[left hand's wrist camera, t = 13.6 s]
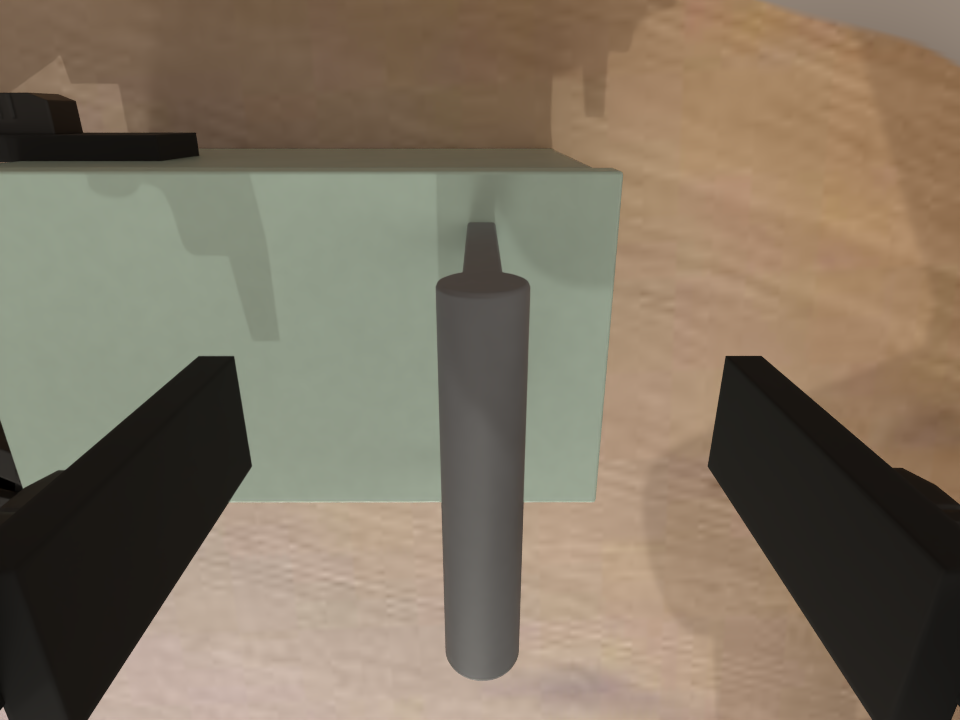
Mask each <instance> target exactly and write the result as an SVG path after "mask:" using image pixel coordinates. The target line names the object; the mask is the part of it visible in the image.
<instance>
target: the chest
mask: <svg viewBox="0 0 960 720" xmlns="http://www.w3.org/2000/svg"><path fill="white" fill-rule="evenodd" d="M198 150H199V156H193V157H186V158H179V159H172V160H165V161H18V162H8V163H0V168H592V167H589V166H587V165H585V164H583V163H581V162H579V161H576V160H574V159H572V158H570V157H568V156H566V155H563V154H561V153H559V152H557V151H555V150H554V149H198Z"/></svg>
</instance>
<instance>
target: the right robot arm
mask: <svg viewBox="0 0 960 720" xmlns="http://www.w3.org/2000/svg"><path fill="white" fill-rule="evenodd" d="M193 156H199V150H198V144H197V138H196V133H83V131H82V126H81V122H80V118H79V113H78V109H77V105H76V101H74V100H71V99H69V98H66V97H64V96H61V95H59V94H42V93H0V162H18V161H165V160H172V159H179V158H186V157H193ZM22 489H23V487H22V484H21V481H20V478H19V475H18V472H17V469H16V466H15V463H14V460H13V457H12V454H11V451H10V448H9V445H8V442H7V439H6V436H5V433H4V430H3V427H2V424H1V421H0V507H1V506H3V505H4V504H5V503H6V502H8V501H9V500H10V499H11V498H12V497H14V496H15V495H16V494H17V493H19V492H20V491H21V490H22Z"/></svg>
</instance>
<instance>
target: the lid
mask: <svg viewBox="0 0 960 720" xmlns="http://www.w3.org/2000/svg"><path fill="white" fill-rule="evenodd" d="M622 181H623V173H622V172H621V171H618V170H616V169H613V168H0V421H1V424H2V427H3V430H4V433H5V436H6V439H7V442H8V445H9V448H10V451H11V454H12V457H13V460H14V463H15V466H16V469H17V472H18V475H19V478H20V481H21V484H22V487H23V488H25V487H27V486H29V485H30V484H32V483H34V482H36V481H38V480H40V479H42V478H44V477H46V476H48V475H50V474H52V473H54V472H56V471H57V470H66V469H67V468H68V467H69V466H70V465H72V464H73V463H74V462H75V461H76V460H77V459H79V458H80V457H81V456H82V455H83V454H84V453H86V452H87V451H88V450H89V449H90V448H92V447H93V446H94V445H95V444H96V443H97V442H99V441H100V440H101V439H102V438H103V437H104V436H106V435H107V434H108V433H109V432H110V431H111V430H113V429H114V428H115V427H116V426H117V425H118V424H120V423H121V422H122V421H123V420H124V419H125V418H127V417H128V416H129V415H130V414H131V413H132V412H134V411H135V410H136V409H137V408H138V407H140V406H141V405H142V404H143V403H144V402H145V401H147V400H148V399H149V398H150V397H151V396H152V395H154V394H155V393H156V392H157V391H158V390H159V389H161V388H162V387H163V386H164V385H165V384H166V383H168V382H169V381H170V380H171V379H172V378H173V377H175V376H176V375H177V374H178V373H179V372H180V371H182V370H183V369H184V368H185V367H186V366H188V365H189V364H190V363H191V362H192V361H193V360H195V359H196V358H197V357H198V356H234V358H235V364H236V370H237V376H238V382H239V389H240V395H241V401H242V407H243V413H244V419H245V425H246V431H247V438H248V444H249V450H250V456H251V462H252V467H251V469H250V471H249V472H248V474H247V475H246V477H245V478H244V480H243V481H242V483H241V484H240V486H239V487H238V489H237V491H236V492H235V494H234V495H233V497H232V498H231V500H230V501H229V502H442V537H443V573H444V609H445V645H446V656H447V659H448V661H449V663H450V664H451V666H452V667H453V669H454V670H455V671H456V672H458V673H459V674H460V675H462V676H464V677H466V678H469V679H472V680H477V681H487V680H493V679H496V678H499V677H501V676H503V675H504V674H506V673H507V672H508V671H509V670H510V669H511V668H512V667H513V665H514V664H515V662H516V660H517V657H518V653H519V627H520V596H521V565H522V535H523V504H524V502H594V501H595V499H596V487H597V475H598V464H599V452H600V440H601V428H602V417H603V405H604V393H605V381H606V370H607V358H608V346H609V334H610V323H611V311H612V299H613V287H614V275H615V264H616V252H617V240H618V228H619V217H620V205H621V193H622Z"/></svg>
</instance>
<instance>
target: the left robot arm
mask: <svg viewBox="0 0 960 720" xmlns="http://www.w3.org/2000/svg"><path fill="white" fill-rule="evenodd" d="M251 467H252V462H251V456H250V450H249V444H248V438H247V431H246V425H245V419H244V413H243V407H242V401H241V395H240V389H239V382H238V376H237V370H236V364H235V358H234V356H198V357H197V358H196V359H195V360H193V361H192V362H191V363H190V364H189V365H188V366H186V367H185V368H184V369H183V370H182V371H180V372H179V373H178V374H177V375H176V376H175V377H173V378H172V379H171V380H170V381H169V382H168V383H166V384H165V385H164V386H163V387H162V388H161V389H159V390H158V391H157V392H156V393H155V394H154V395H152V396H151V397H150V398H149V399H148V400H147V401H145V402H144V403H143V404H142V405H141V406H140V407H138V408H137V409H136V410H135V411H134V412H132V413H131V414H130V415H129V416H128V417H127V418H125V419H124V420H123V421H122V422H121V423H120V424H118V425H117V426H116V427H115V428H114V429H113V430H111V431H110V432H109V433H108V434H107V435H106V436H104V437H103V438H102V439H101V440H100V441H99V442H97V443H96V444H95V445H94V446H93V447H92V448H90V449H89V450H88V451H87V452H86V453H84V454H83V455H82V456H81V457H80V458H79V459H77V460H76V461H75V462H74V463H73V464H72V465H70V466H69V467H68V468H67V469H66V470H57V471H56V472H54V473H52V474H50V475H48V476H46V477H44V478H42V479H40V480H38V481H36V482H34V483H32V484H30V485H29V486H27V487H25V488H23V489H22V490H21V491H20V492H19V493H17V494H16V495H15V496H14V497H12V498H11V499H10V500H9V501H8V502H6V503H5V504H4V505H3V506H1V507H0V710H1V709H2V707H4V709H5V712H6V714H7V717H8V719H9V720H88V718H89V717H90V715H91V714H92V712H93V711H94V709H95V708H96V706H97V705H98V703H99V701H100V700H101V698H102V697H103V695H104V694H105V692H106V691H107V689H108V688H109V686H110V685H111V683H112V681H113V680H114V678H115V677H116V675H117V674H118V672H119V671H120V669H121V668H122V666H123V665H124V663H125V661H126V660H127V658H128V657H129V655H130V654H131V652H132V651H133V649H134V648H135V646H136V645H137V643H138V641H139V640H140V638H141V637H142V635H143V634H144V632H145V631H146V629H147V628H148V626H149V624H150V623H151V621H152V620H153V618H154V617H155V615H156V614H157V612H158V611H159V609H160V608H161V606H162V604H163V603H164V601H165V600H166V598H167V597H168V595H169V594H170V592H171V591H172V589H173V588H174V586H175V584H176V583H177V581H178V580H179V578H180V577H181V575H182V574H183V572H184V571H185V569H186V568H187V566H188V564H189V563H190V561H191V560H192V558H193V557H194V555H195V554H196V552H197V551H198V549H199V548H200V546H201V544H202V543H203V541H204V540H205V538H206V537H207V535H208V534H209V532H210V531H211V529H212V527H213V526H214V524H215V523H216V521H217V520H218V518H219V517H220V515H221V514H222V512H223V511H224V509H225V507H226V506H227V504H228V503H229V501H230V500H231V498H232V497H233V495H234V494H235V492H236V491H237V489H238V487H239V486H240V484H241V483H242V481H243V480H244V478H245V477H246V475H247V474H248V472H249V471H250V469H251ZM708 467H709V469H710V471H711V472H712V474H713V475H714V477H715V478H716V480H717V481H718V483H719V484H720V486H721V487H722V489H723V491H724V492H725V494H726V495H727V497H728V498H729V500H730V501H731V503H732V504H733V506H734V507H735V509H736V511H737V512H738V514H739V515H740V517H741V518H742V520H743V521H744V523H745V524H746V526H747V528H748V529H749V531H750V532H751V534H752V535H753V537H754V538H755V540H756V541H757V543H758V544H759V546H760V548H761V549H762V551H763V552H764V554H765V555H766V557H767V558H768V560H769V561H770V563H771V564H772V566H773V568H774V569H775V571H776V572H777V574H778V575H779V577H780V578H781V580H782V581H783V583H784V584H785V586H786V588H787V589H788V591H789V592H790V594H791V595H792V597H793V598H794V600H795V601H796V603H797V604H798V606H799V608H800V609H801V611H802V612H803V614H804V615H805V617H806V618H807V620H808V621H809V623H810V625H811V626H812V628H813V629H814V631H815V632H816V634H817V635H818V637H819V638H820V640H821V641H822V643H823V645H824V646H825V648H826V649H827V651H828V652H829V654H830V655H831V657H832V658H833V660H834V661H835V663H836V665H837V666H838V668H839V669H840V671H841V672H842V674H843V675H844V677H845V678H846V680H847V681H848V683H849V685H850V686H851V688H852V689H853V691H854V692H855V694H856V695H857V697H858V698H859V700H860V701H861V703H862V705H863V706H864V708H865V709H866V711H867V712H868V714H869V715H870V717H871V718H872V720H951V719H952V717H953V714H954V712H955V709H956V707H957V704H958V705H959V706H960V504H958V503H957V502H956V501H955V500H954V499H952V498H951V497H950V496H949V495H947V494H946V493H945V492H944V491H942V490H941V489H940V488H939V487H937V486H936V485H934V484H932V483H931V482H929V481H927V480H925V479H923V478H921V477H919V476H917V475H915V474H913V473H911V472H909V471H907V470H905V469H903V468H892V467H891V466H890V465H888V464H887V463H886V462H885V461H884V460H883V459H881V458H880V457H879V456H878V455H877V454H875V453H874V452H873V451H872V450H871V449H870V448H868V447H867V446H866V445H865V444H864V443H863V442H861V441H860V440H859V439H858V438H857V437H856V436H854V435H853V434H852V433H851V432H850V431H849V430H847V429H846V428H845V427H844V426H843V425H842V424H840V423H839V422H838V421H837V420H836V419H835V418H833V417H832V416H831V415H830V414H829V413H828V412H826V411H825V410H824V409H823V408H822V407H820V406H819V405H818V404H817V403H816V402H815V401H813V400H812V399H811V398H810V397H809V396H808V395H806V394H805V393H804V392H803V391H802V390H801V389H799V388H798V387H797V386H796V385H795V384H794V383H792V382H791V381H790V380H789V379H788V378H787V377H785V376H784V375H783V374H782V373H781V372H780V371H778V370H777V369H776V368H775V367H774V366H772V365H771V364H770V363H769V362H768V361H767V360H765V359H764V358H763V357H762V356H726V358H725V364H724V370H723V376H722V382H721V388H720V395H719V401H718V407H717V413H716V419H715V425H714V431H713V438H712V444H711V450H710V456H709V462H708Z"/></svg>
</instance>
